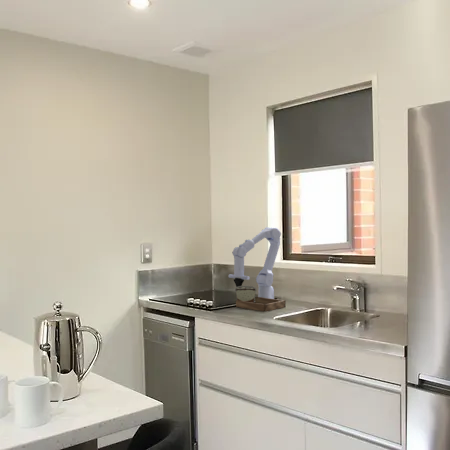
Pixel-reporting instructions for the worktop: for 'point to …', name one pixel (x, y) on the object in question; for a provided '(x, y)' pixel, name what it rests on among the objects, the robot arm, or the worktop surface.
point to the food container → (245, 293)
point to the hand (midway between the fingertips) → (238, 291)
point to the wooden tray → (262, 304)
